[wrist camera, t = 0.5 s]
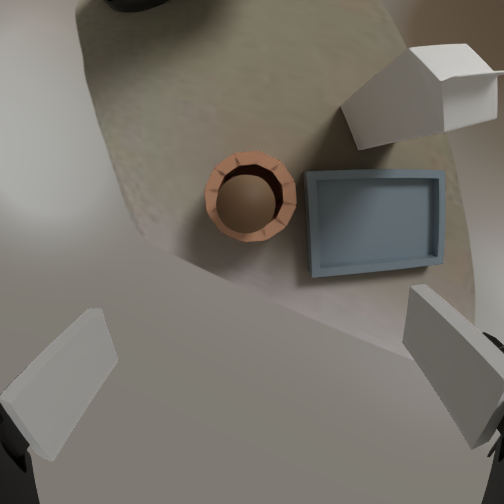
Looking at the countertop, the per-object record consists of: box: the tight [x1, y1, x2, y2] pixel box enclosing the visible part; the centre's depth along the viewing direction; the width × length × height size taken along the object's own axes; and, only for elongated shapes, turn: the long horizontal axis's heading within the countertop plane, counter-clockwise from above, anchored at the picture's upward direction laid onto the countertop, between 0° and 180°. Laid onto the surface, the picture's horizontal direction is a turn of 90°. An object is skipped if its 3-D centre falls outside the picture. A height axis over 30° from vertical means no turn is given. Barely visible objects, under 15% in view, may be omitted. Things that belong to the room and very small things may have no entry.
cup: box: [204, 151, 297, 242], centre depth 31 cm, size 8×8×8 cm
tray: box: [303, 169, 445, 278], centre depth 33 cm, size 12×18×3 cm, turn 95°
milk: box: [340, 44, 504, 151], centre depth 21 cm, size 6×6×22 cm
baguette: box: [216, 175, 275, 233], centre depth 27 cm, size 4×4×14 cm
